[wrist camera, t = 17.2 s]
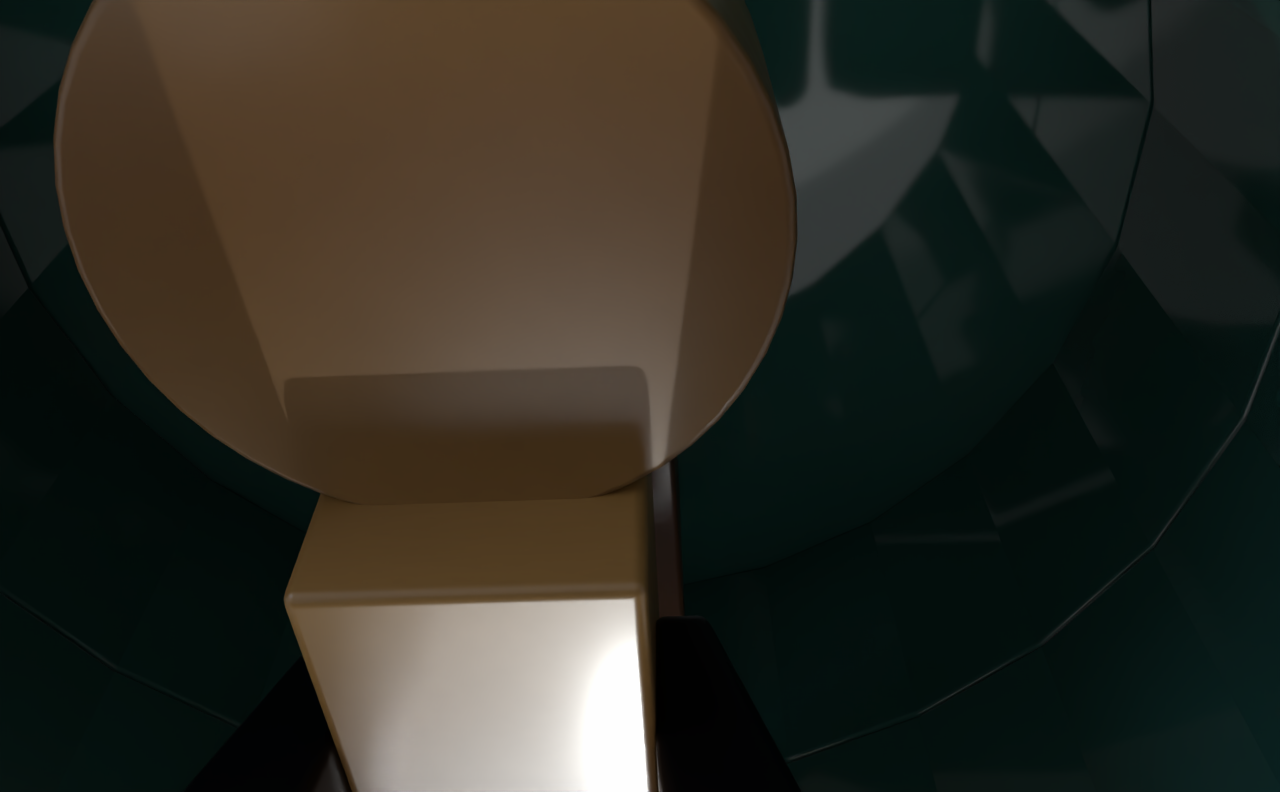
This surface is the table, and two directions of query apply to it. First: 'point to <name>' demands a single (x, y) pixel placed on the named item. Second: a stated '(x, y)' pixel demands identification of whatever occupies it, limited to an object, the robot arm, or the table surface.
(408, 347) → the wooden block
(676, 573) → the walnut spoon
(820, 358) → the dark green bowl
